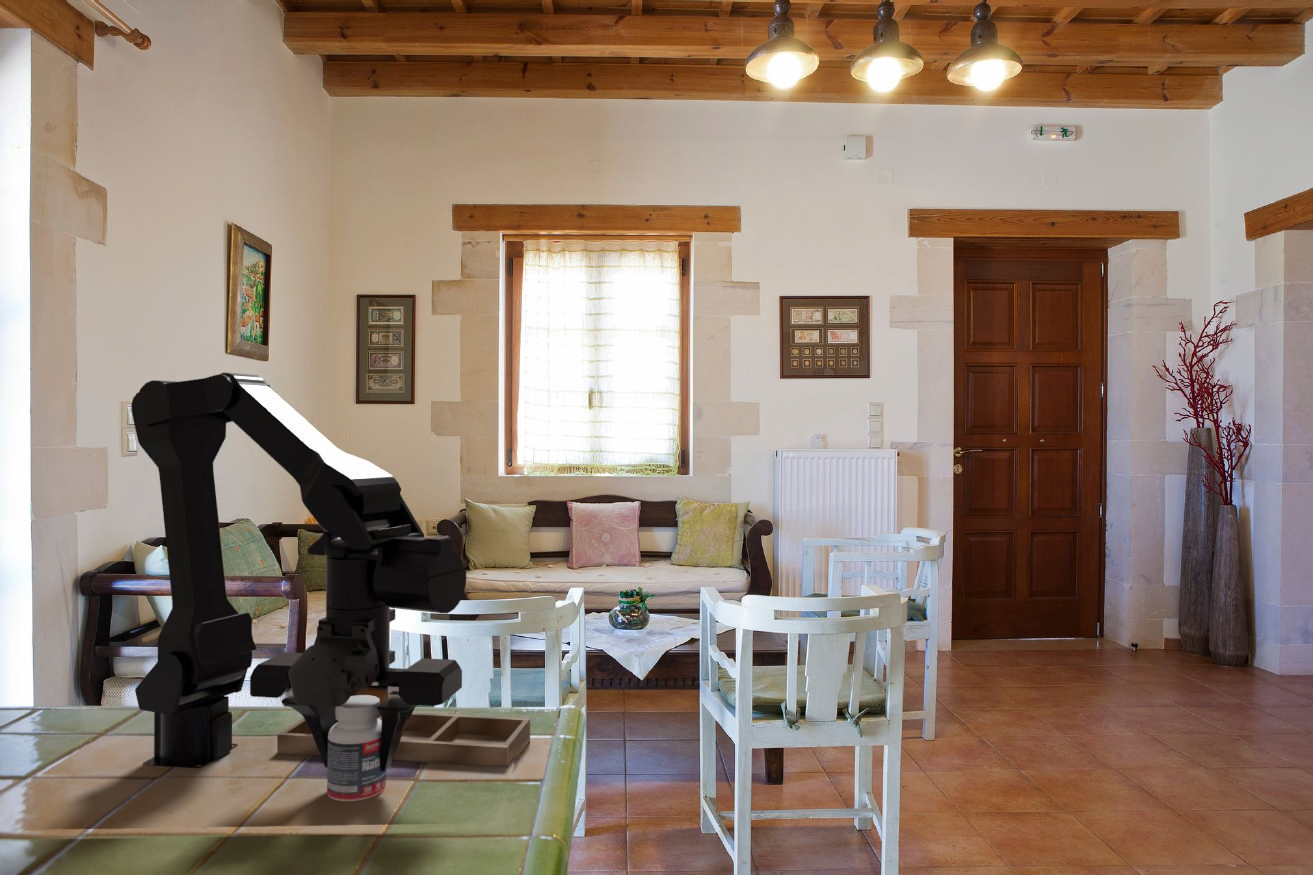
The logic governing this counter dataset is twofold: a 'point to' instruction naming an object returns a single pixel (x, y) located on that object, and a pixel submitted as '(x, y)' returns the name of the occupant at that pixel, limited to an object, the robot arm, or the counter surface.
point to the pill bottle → (355, 751)
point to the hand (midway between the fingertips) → (357, 767)
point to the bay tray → (438, 739)
